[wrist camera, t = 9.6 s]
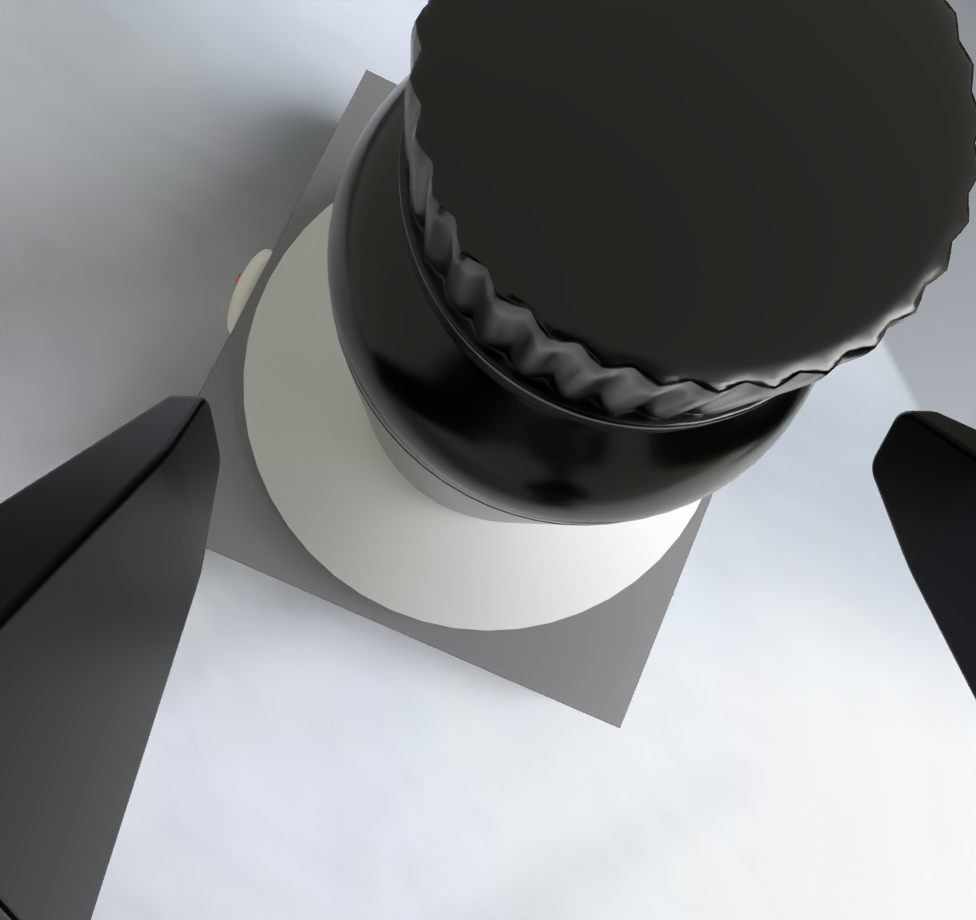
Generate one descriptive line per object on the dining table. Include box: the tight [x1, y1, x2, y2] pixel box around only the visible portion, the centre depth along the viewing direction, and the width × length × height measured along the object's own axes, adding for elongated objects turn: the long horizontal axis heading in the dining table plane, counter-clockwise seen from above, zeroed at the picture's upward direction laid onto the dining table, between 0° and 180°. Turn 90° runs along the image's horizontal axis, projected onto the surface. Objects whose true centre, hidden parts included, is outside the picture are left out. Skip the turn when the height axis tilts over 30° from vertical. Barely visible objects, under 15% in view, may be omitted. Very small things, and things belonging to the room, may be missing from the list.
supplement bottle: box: [327, 0, 976, 526], centre depth 11 cm, size 7×7×12 cm
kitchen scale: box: [199, 70, 713, 728], centre depth 19 cm, size 13×14×4 cm
